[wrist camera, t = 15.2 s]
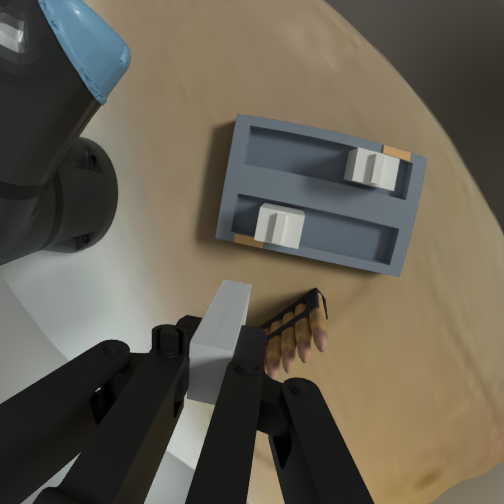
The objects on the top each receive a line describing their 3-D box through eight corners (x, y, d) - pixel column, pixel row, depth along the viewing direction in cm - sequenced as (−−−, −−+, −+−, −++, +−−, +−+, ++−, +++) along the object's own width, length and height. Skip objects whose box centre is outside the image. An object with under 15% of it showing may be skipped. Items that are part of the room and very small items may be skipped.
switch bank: (220, 233, 36) (214, 238, 33) (241, 118, 32) (236, 113, 30) (392, 270, 34) (399, 277, 31) (417, 158, 31) (427, 157, 28)
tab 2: (343, 179, 31) (353, 180, 26) (348, 151, 31) (359, 146, 25) (379, 188, 31) (395, 191, 26) (384, 161, 30) (402, 158, 25)
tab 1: (259, 230, 34) (253, 241, 28) (265, 202, 33) (259, 207, 27) (297, 238, 33) (298, 250, 28) (303, 210, 33) (305, 217, 27)
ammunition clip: (316, 287, 36) (325, 337, 24) (325, 298, 36) (338, 352, 24) (244, 337, 38) (226, 397, 27) (254, 347, 39) (239, 409, 27)
